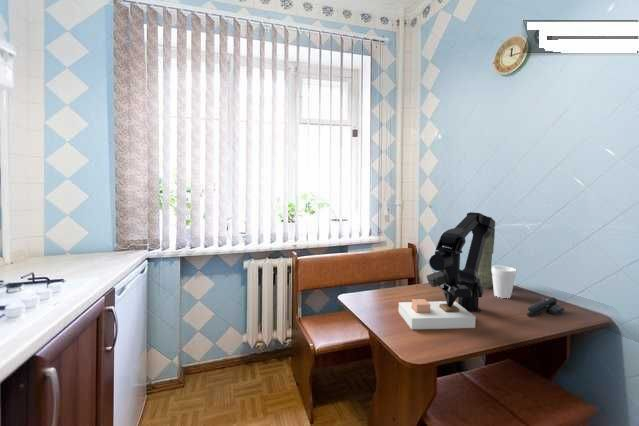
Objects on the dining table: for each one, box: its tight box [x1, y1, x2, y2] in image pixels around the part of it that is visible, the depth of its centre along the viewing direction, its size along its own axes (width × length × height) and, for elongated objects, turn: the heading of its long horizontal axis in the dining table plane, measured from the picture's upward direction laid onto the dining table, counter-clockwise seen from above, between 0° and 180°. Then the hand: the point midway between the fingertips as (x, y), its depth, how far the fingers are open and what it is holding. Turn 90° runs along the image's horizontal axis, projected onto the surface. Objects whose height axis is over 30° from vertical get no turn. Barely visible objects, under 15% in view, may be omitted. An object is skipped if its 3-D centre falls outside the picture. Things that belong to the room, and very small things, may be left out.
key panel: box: [398, 300, 477, 330], centre depth 108 cm, size 23×14×4 cm, turn 93°
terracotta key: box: [411, 298, 430, 313], centre depth 107 cm, size 5×5×4 cm
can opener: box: [526, 297, 565, 318], centre depth 113 cm, size 18×7×6 cm, turn 111°
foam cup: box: [491, 265, 517, 300], centre depth 130 cm, size 10×9×13 cm
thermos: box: [478, 227, 496, 289], centre depth 143 cm, size 9×12×35 cm
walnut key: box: [440, 304, 459, 312], centre depth 108 cm, size 5×5×4 cm
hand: (449, 306), depth 108 cm, fingers closed, pressing on walnut key
